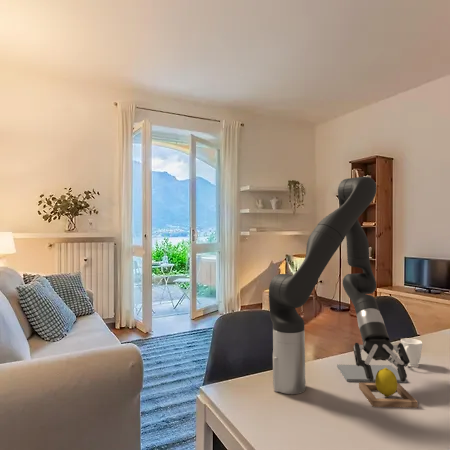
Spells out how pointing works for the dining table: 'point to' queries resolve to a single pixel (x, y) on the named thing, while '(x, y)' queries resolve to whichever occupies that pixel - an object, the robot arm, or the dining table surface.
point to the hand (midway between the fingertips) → (387, 380)
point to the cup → (412, 350)
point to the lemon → (386, 382)
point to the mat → (358, 373)
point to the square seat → (379, 402)
